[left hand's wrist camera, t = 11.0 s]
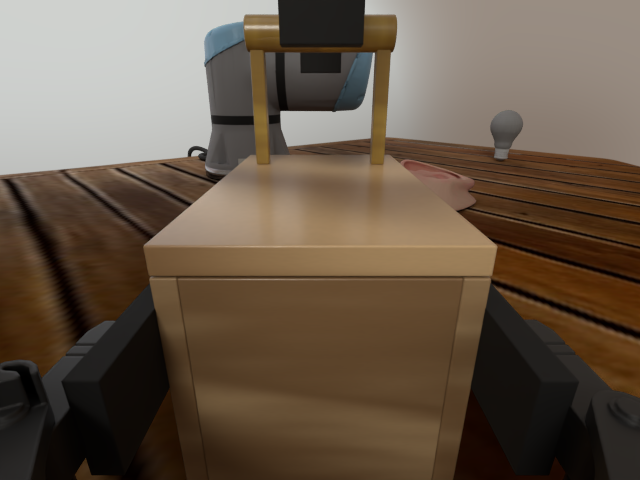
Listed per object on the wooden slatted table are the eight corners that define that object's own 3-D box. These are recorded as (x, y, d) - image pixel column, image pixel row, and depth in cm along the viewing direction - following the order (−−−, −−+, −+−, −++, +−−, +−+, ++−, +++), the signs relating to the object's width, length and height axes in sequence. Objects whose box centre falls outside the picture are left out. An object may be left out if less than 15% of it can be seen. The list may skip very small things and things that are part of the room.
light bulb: (490, 162, 76) (499, 110, 73) (481, 157, 82) (488, 109, 78) (520, 162, 76) (531, 110, 72) (509, 157, 81) (517, 109, 78)
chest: (257, 291, 26) (249, 170, 23) (382, 291, 26) (390, 171, 23) (190, 501, 13) (148, 278, 10) (449, 501, 13) (492, 278, 10)
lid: (251, 168, 24) (241, 26, 21) (389, 168, 24) (398, 26, 21) (147, 276, 10) (72, -124, 7) (492, 277, 10) (569, -124, 7)
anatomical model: (482, 180, 41) (380, 173, 45) (476, 215, 43) (378, 205, 46) (478, 162, 53) (398, 157, 56) (474, 189, 54) (396, 183, 58)
